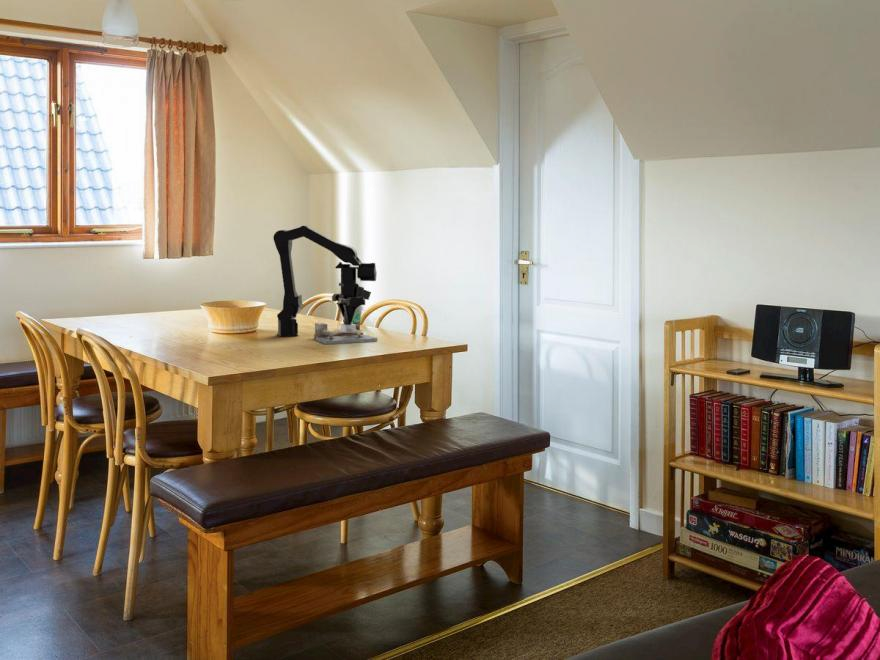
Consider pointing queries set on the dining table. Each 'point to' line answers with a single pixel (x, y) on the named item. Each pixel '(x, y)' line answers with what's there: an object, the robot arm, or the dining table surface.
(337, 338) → the hole plate
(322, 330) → the divider rail
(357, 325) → the food container
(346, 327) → the divider leg
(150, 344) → the dining table surface
